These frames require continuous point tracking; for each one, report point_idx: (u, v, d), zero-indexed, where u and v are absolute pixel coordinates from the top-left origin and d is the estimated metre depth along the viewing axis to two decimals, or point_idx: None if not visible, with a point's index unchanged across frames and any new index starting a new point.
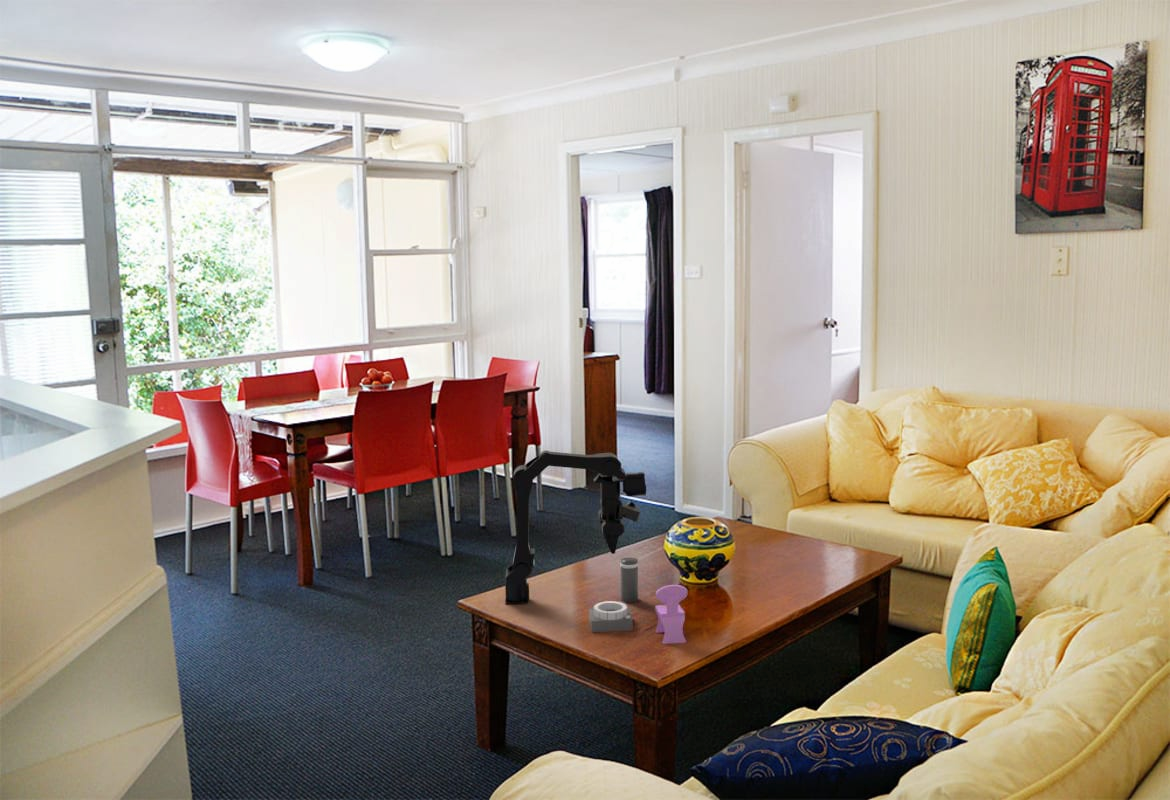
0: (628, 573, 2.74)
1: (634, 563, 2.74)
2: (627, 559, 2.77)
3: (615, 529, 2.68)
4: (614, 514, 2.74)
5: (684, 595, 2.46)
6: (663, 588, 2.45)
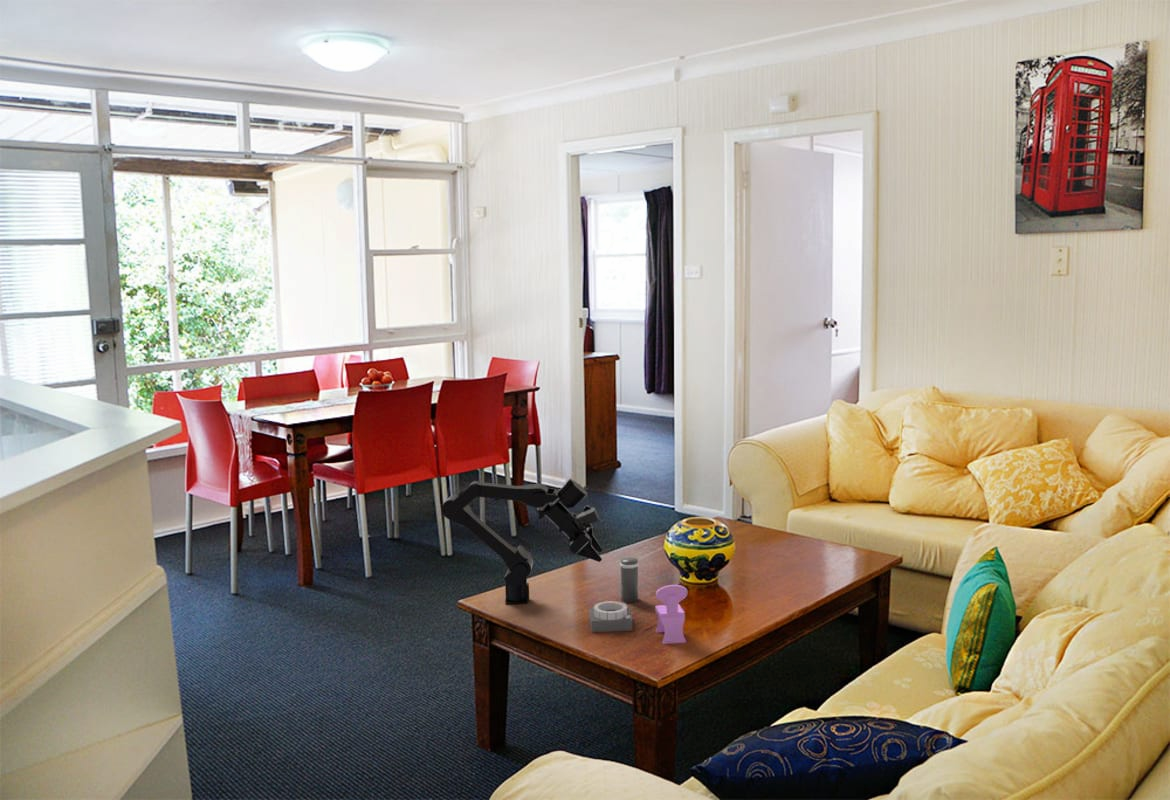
0: (628, 573, 2.74)
1: (634, 563, 2.74)
2: (627, 559, 2.77)
3: (580, 543, 2.67)
4: (575, 531, 2.73)
5: (684, 595, 2.46)
6: (663, 588, 2.45)
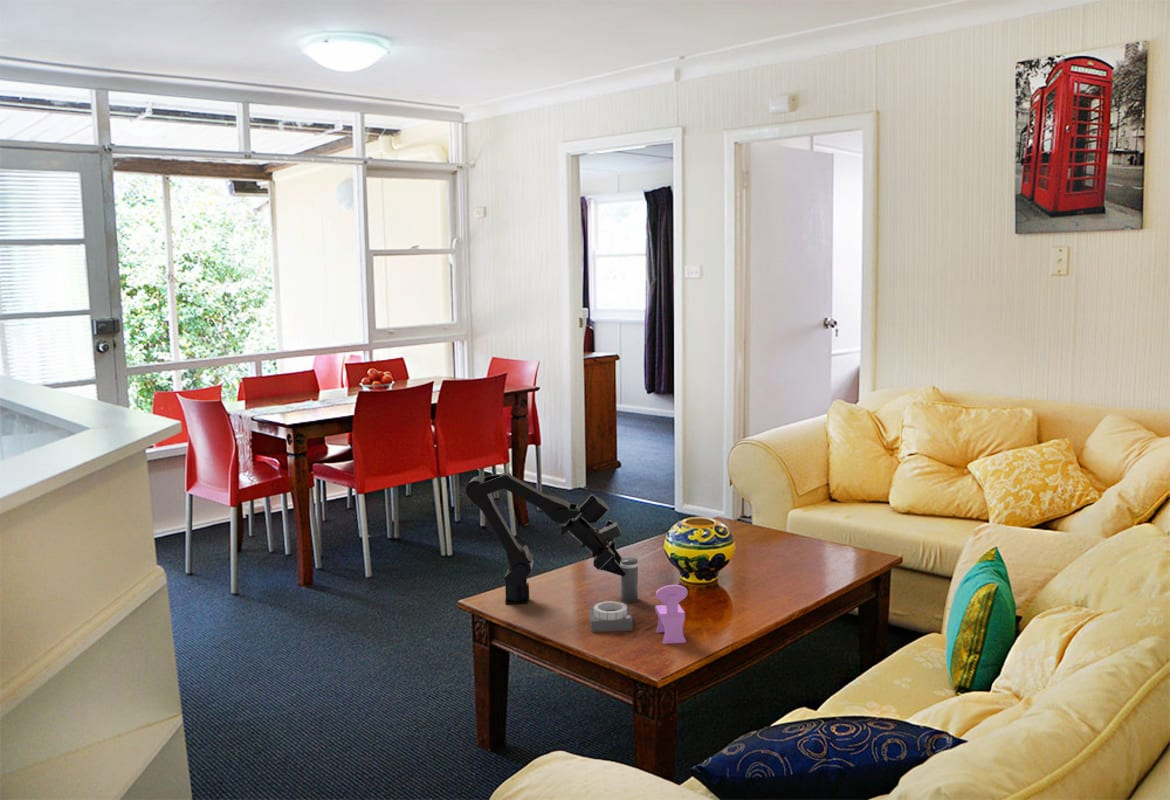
0: (628, 573, 2.74)
1: (634, 563, 2.74)
2: (627, 559, 2.77)
3: (604, 558, 2.67)
4: (598, 546, 2.73)
5: (684, 595, 2.46)
6: (663, 588, 2.45)
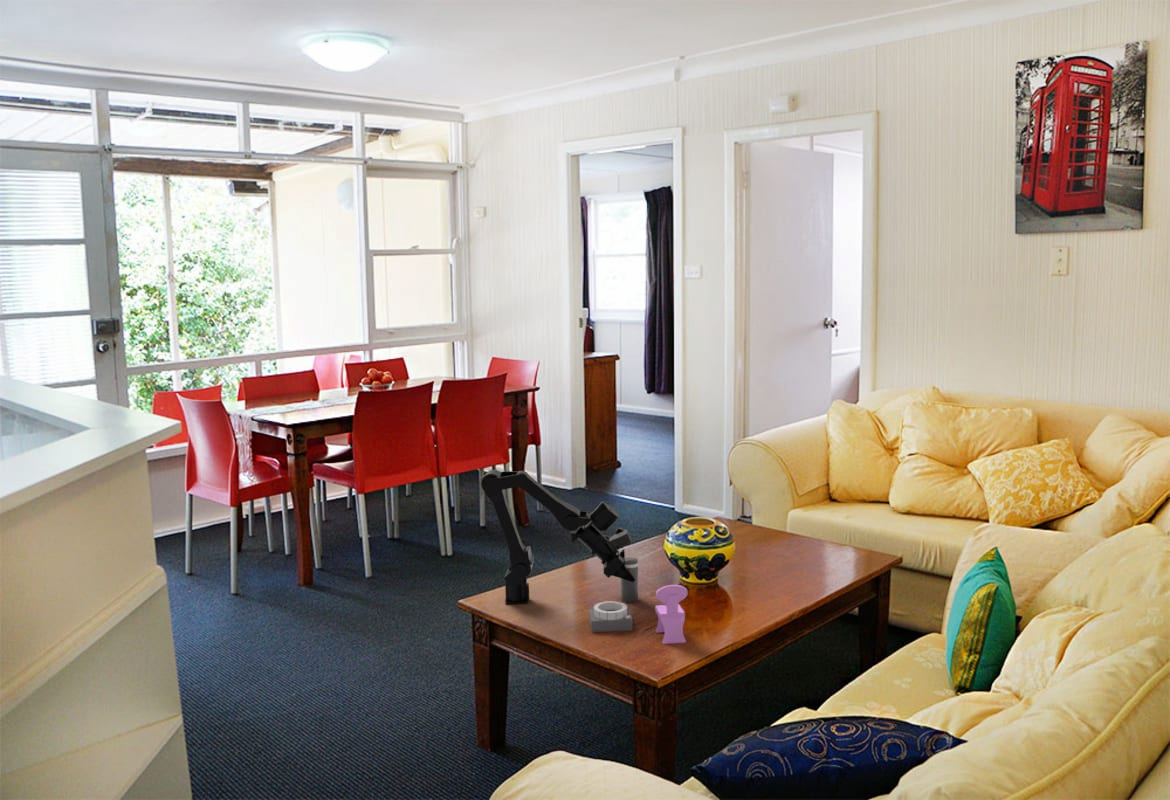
0: None
1: (634, 563, 2.74)
2: (627, 559, 2.77)
3: (614, 566, 2.67)
4: (608, 553, 2.73)
5: (684, 595, 2.46)
6: (663, 588, 2.45)
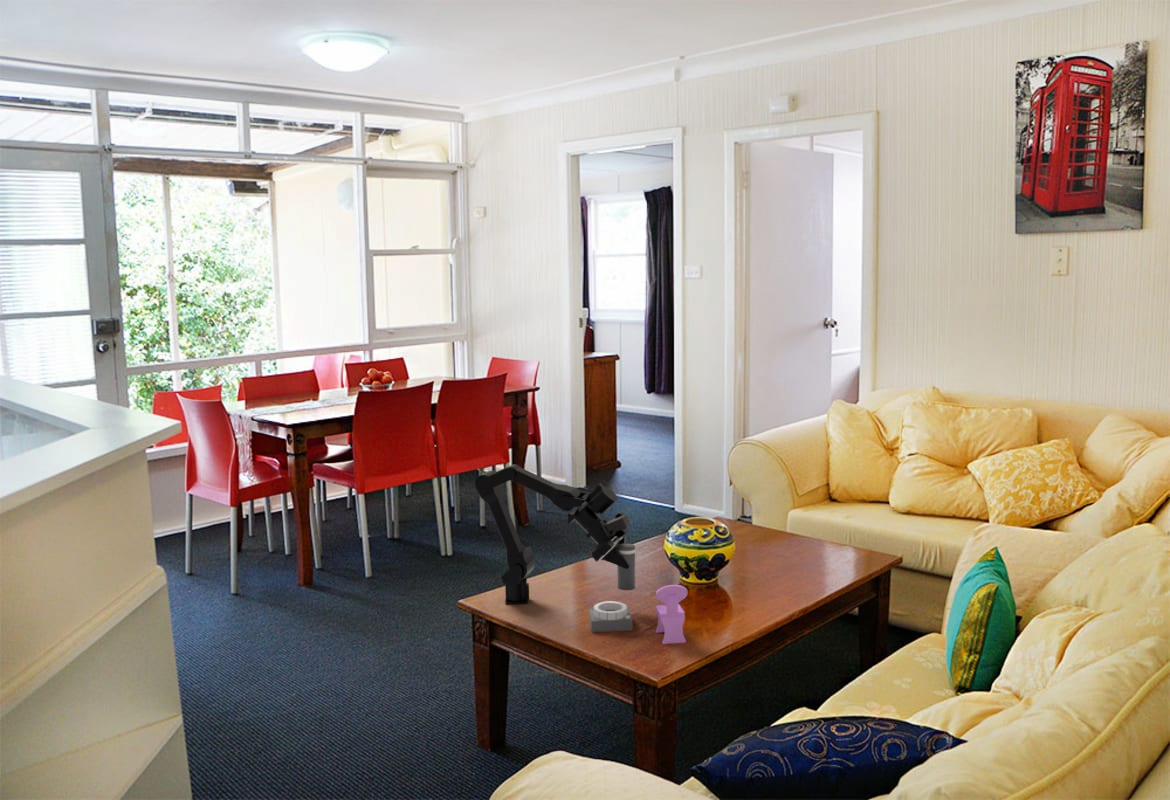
0: None
1: (629, 549, 2.64)
2: (625, 545, 2.67)
3: (601, 550, 2.59)
4: (603, 537, 2.65)
5: (684, 595, 2.46)
6: (663, 588, 2.45)
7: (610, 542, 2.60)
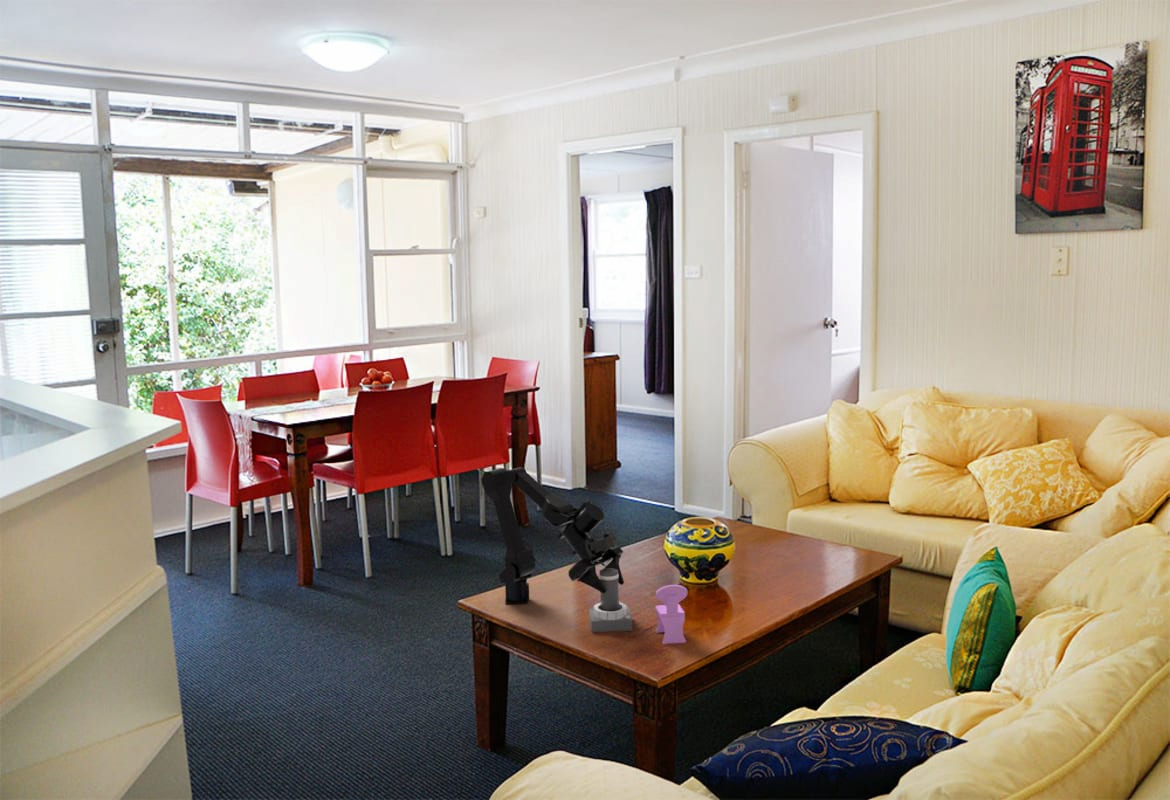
0: None
1: (609, 575, 2.54)
2: (608, 570, 2.58)
3: (576, 570, 2.52)
4: (586, 556, 2.58)
5: (684, 595, 2.46)
6: (663, 588, 2.45)
7: (586, 562, 2.52)
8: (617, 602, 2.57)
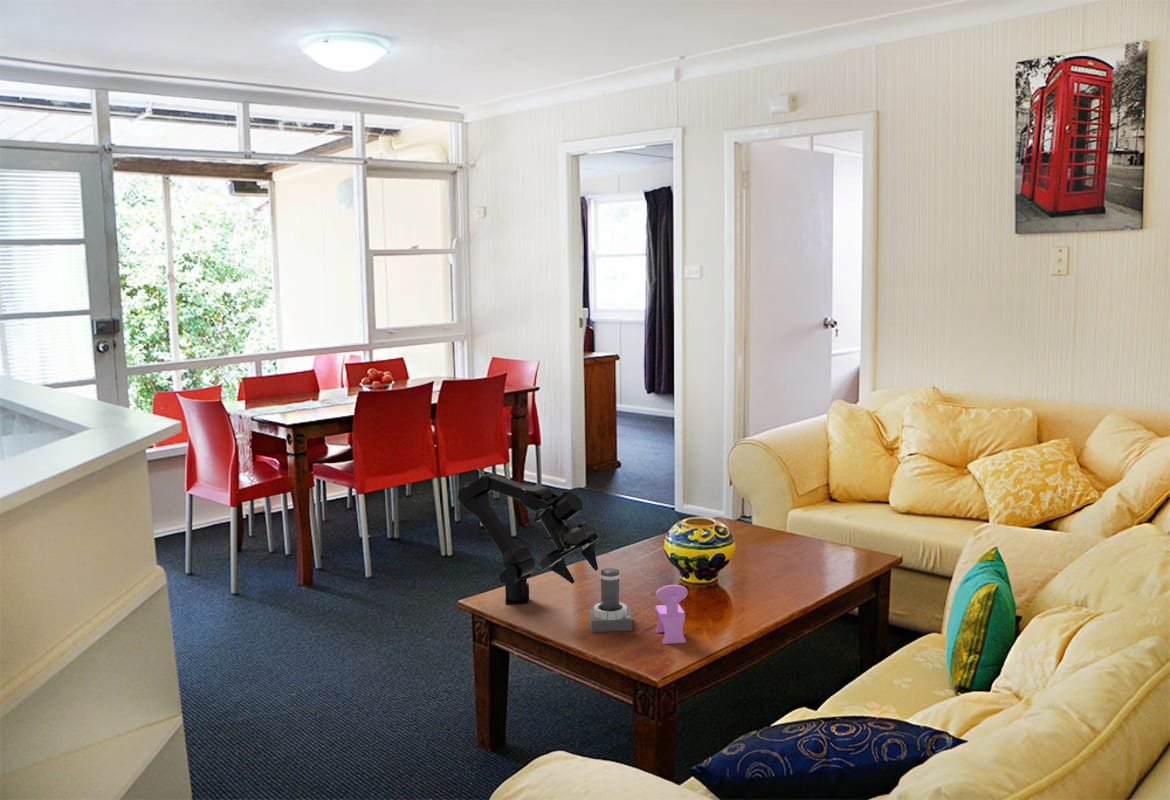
0: (603, 585, 2.56)
1: (610, 575, 2.54)
2: (609, 570, 2.58)
3: (546, 561, 2.60)
4: (559, 545, 2.65)
5: (684, 595, 2.46)
6: (663, 588, 2.45)
7: (556, 555, 2.60)
8: (617, 602, 2.57)
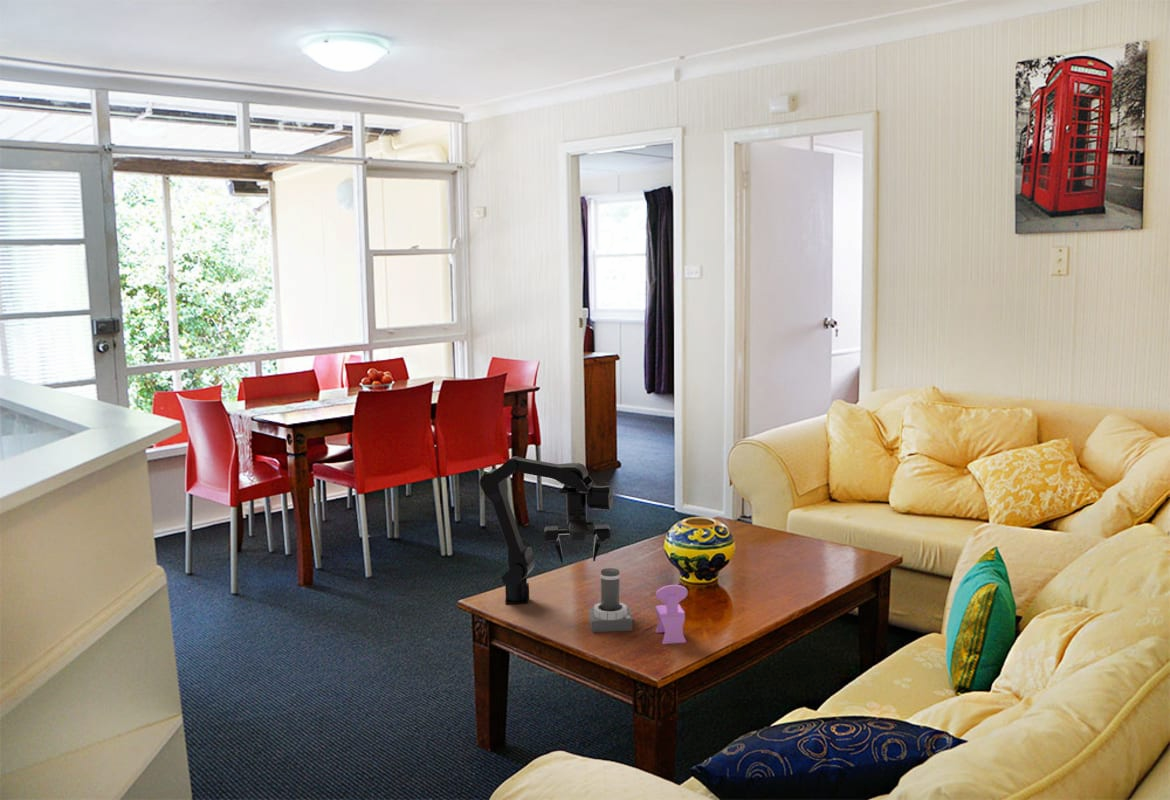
0: (603, 585, 2.56)
1: (610, 575, 2.54)
2: (610, 570, 2.58)
3: None
4: None
5: (684, 595, 2.46)
6: (663, 588, 2.45)
7: (553, 536, 2.68)
8: (617, 602, 2.57)
